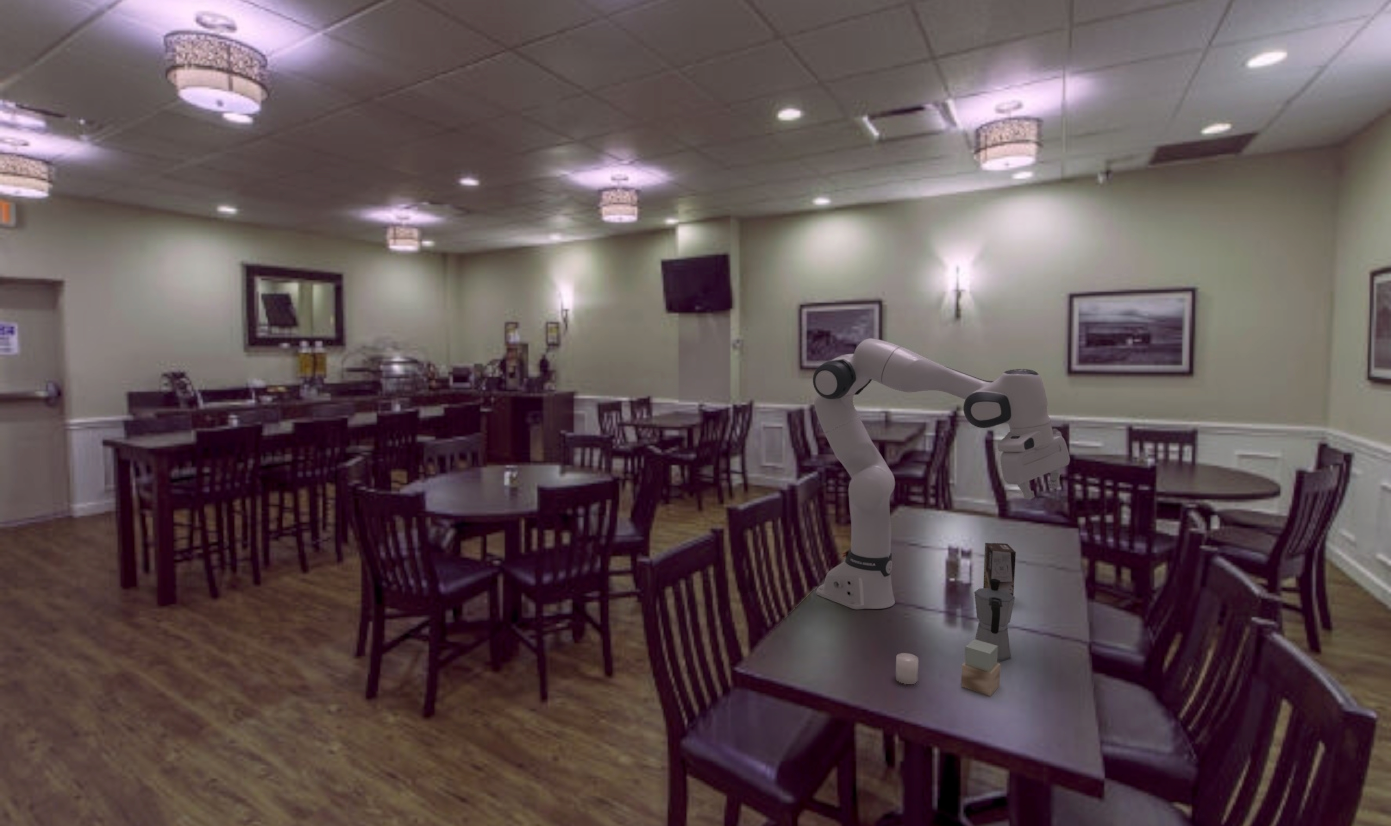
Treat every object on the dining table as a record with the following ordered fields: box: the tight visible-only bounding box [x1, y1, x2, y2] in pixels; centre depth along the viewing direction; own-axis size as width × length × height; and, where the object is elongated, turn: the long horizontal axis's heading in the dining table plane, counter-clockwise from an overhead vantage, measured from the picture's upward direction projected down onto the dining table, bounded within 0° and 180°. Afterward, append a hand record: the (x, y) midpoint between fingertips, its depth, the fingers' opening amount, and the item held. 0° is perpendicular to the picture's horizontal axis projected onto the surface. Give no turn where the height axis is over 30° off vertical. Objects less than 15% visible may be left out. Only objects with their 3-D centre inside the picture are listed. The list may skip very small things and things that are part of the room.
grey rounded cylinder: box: [895, 652, 919, 685], centre depth 145 cm, size 5×5×5 cm
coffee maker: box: [973, 579, 1016, 662], centre depth 156 cm, size 15×9×18 cm, turn 159°
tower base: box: [960, 661, 1001, 697], centre depth 142 cm, size 6×6×5 cm
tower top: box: [964, 638, 998, 672], centre depth 142 cm, size 5×5×4 cm
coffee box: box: [983, 542, 1017, 596], centre depth 189 cm, size 9×6×16 cm
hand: (1042, 493), depth 156 cm, fingers open, 8 cm apart
